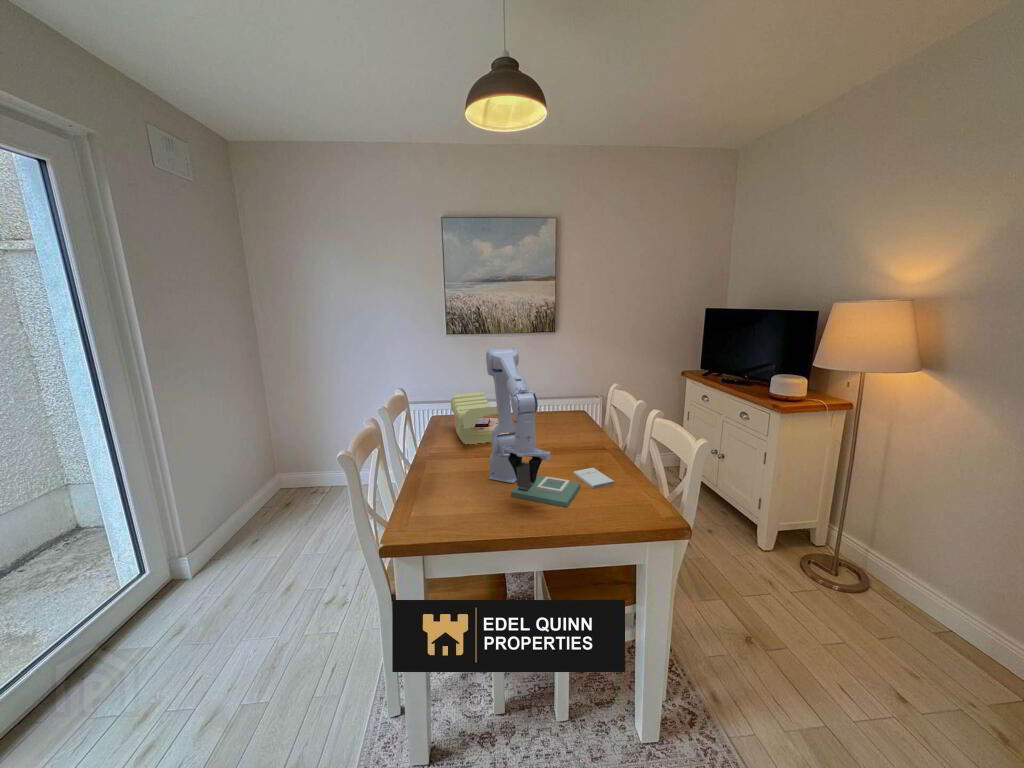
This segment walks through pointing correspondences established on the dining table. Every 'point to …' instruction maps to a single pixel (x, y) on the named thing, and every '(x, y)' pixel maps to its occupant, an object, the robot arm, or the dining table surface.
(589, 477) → the external hard drive
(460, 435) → the ridged pale green box
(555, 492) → the board
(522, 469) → the dark grey block
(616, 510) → the dining table surface
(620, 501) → the dining table surface
